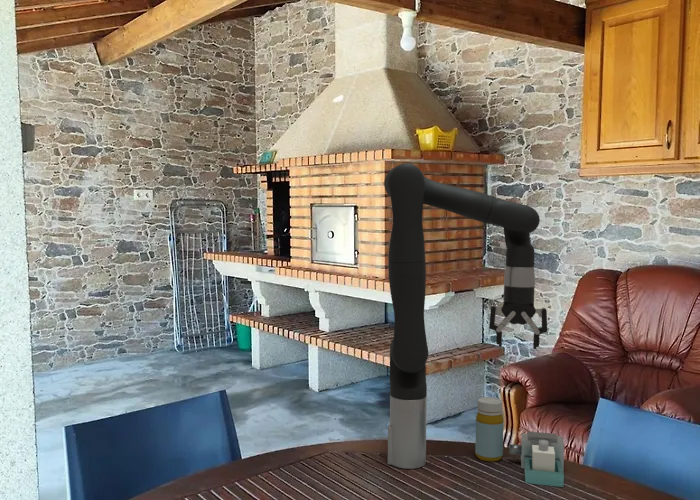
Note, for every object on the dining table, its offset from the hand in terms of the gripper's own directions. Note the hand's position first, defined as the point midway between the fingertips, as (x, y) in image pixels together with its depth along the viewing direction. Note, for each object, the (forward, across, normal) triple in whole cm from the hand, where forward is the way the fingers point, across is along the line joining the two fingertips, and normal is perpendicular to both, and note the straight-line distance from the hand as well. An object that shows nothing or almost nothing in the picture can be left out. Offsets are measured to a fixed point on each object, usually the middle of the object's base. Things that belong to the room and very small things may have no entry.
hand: (517, 347), depth 160 cm
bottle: (+30, +6, 0) cm, 30 cm away
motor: (+29, -5, +7) cm, 30 cm away
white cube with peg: (+29, -7, +10) cm, 32 cm away
